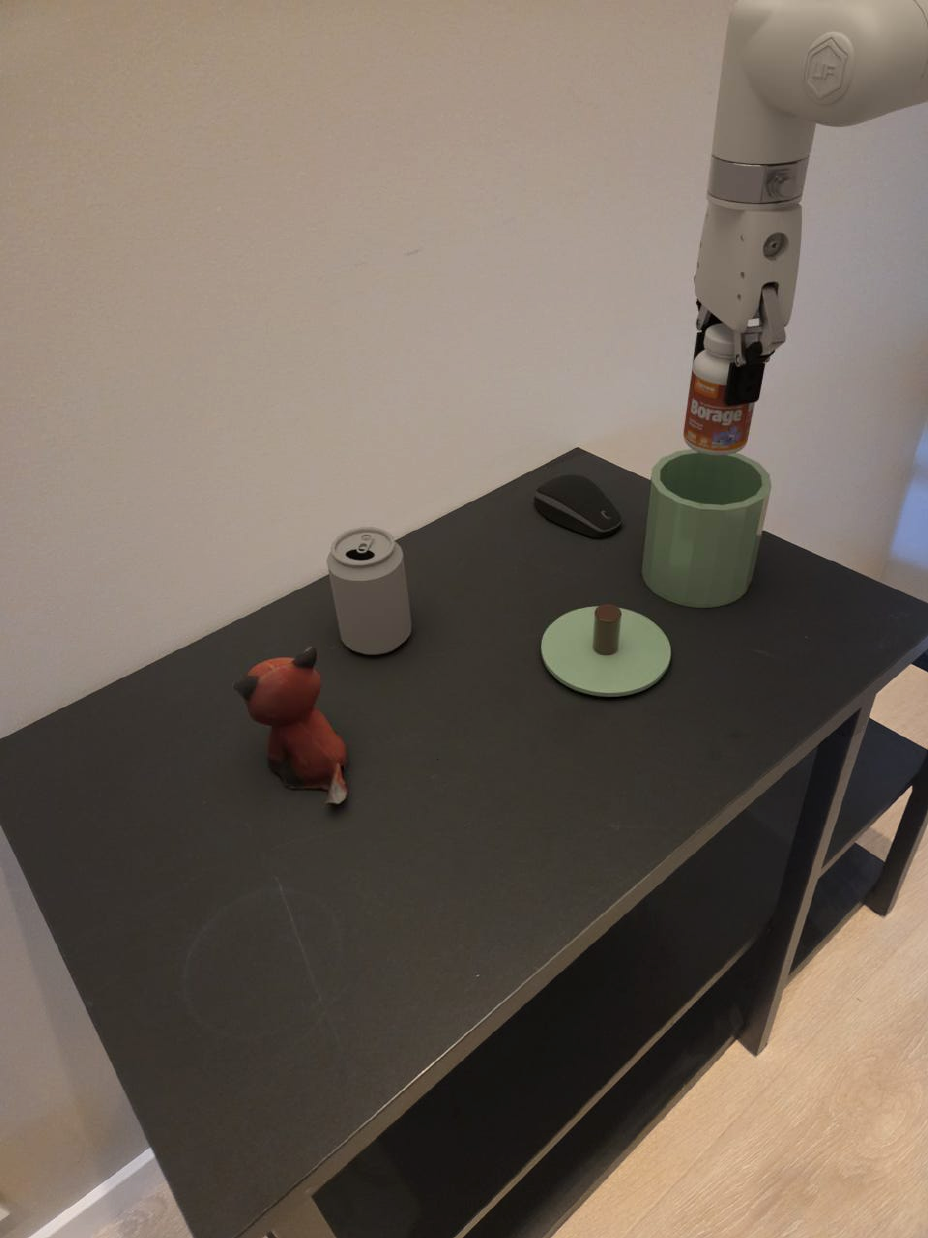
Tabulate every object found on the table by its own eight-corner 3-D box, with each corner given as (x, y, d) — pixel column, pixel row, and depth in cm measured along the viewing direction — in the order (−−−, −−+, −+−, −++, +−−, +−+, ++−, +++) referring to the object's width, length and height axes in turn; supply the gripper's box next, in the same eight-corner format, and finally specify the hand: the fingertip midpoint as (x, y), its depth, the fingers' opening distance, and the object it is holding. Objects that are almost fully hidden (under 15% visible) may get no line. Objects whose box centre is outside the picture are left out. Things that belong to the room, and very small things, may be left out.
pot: (722, 536, 102) (738, 441, 94) (769, 597, 93) (792, 498, 85) (626, 552, 100) (635, 457, 92) (665, 616, 91) (678, 517, 83)
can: (331, 655, 89) (312, 562, 82) (355, 609, 95) (339, 517, 87) (400, 664, 88) (387, 570, 80) (420, 617, 93) (410, 524, 86)
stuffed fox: (312, 836, 72) (286, 740, 65) (244, 761, 79) (213, 666, 71) (384, 787, 76) (368, 690, 68) (313, 718, 83) (291, 623, 75)
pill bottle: (675, 451, 84) (689, 341, 77) (690, 423, 89) (704, 315, 81) (740, 462, 82) (761, 349, 75) (752, 432, 86) (772, 323, 79)
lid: (642, 605, 93) (646, 563, 89) (690, 687, 83) (697, 643, 80) (526, 626, 91) (526, 583, 88) (562, 712, 82) (563, 668, 78)
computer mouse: (594, 546, 101) (596, 518, 99) (521, 506, 109) (521, 478, 106) (634, 522, 105) (636, 494, 102) (560, 484, 112) (561, 457, 109)
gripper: (858, 201, 64) (807, 422, 76) (750, 149, 77) (721, 345, 89) (763, 213, 63) (726, 435, 75) (670, 158, 76) (651, 355, 88)
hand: (724, 384), depth 82 cm, fingers closed on pill bottle, 6 cm apart
